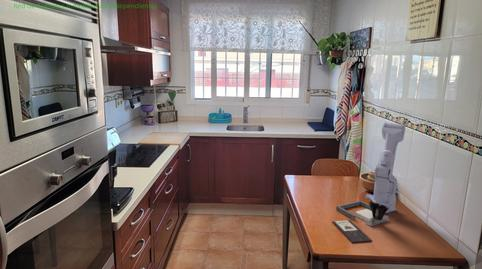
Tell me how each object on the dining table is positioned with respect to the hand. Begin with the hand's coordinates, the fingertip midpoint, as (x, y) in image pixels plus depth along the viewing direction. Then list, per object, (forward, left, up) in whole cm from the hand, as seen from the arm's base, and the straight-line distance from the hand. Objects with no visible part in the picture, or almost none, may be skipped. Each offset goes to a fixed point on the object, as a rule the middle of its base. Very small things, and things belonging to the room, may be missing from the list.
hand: (377, 218), depth 153 cm
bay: (0, -12, -2) cm, 12 cm away
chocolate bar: (+18, +2, -3) cm, 18 cm away
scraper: (0, 0, -2) cm, 2 cm away
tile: (0, -5, -2) cm, 6 cm away
